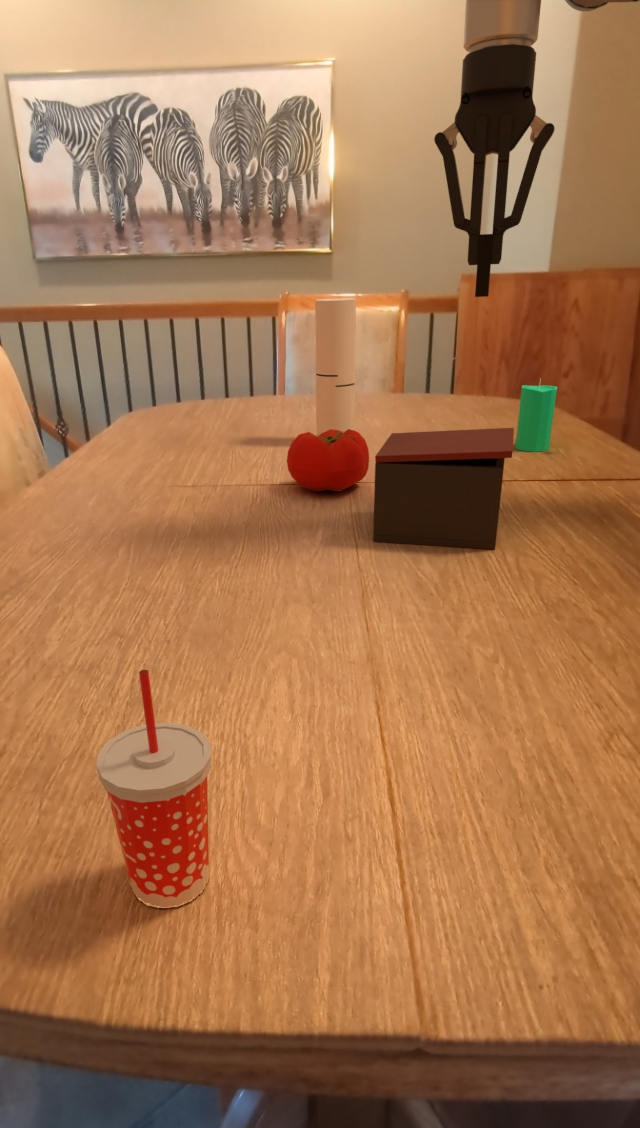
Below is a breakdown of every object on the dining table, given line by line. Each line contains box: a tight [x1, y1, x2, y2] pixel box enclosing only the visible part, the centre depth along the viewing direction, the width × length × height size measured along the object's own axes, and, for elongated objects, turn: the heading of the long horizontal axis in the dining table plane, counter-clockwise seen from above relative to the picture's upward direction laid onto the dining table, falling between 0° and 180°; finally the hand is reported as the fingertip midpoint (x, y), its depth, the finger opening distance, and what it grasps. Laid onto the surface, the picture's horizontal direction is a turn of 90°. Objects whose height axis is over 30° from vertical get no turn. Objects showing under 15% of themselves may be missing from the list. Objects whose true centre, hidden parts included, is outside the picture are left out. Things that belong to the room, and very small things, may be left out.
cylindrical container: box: [314, 297, 357, 436], centre depth 139 cm, size 7×7×25 cm
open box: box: [372, 458, 506, 551], centre depth 96 cm, size 15×13×10 cm
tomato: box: [286, 429, 370, 493], centre depth 114 cm, size 13×12×8 cm
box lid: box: [374, 427, 515, 463], centre depth 93 cm, size 16×13×1 cm
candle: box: [514, 377, 558, 453], centre depth 133 cm, size 6×6×12 cm
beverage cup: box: [95, 669, 212, 907], centre depth 41 cm, size 6×6×14 cm
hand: (481, 295), depth 90 cm, fingers closed
